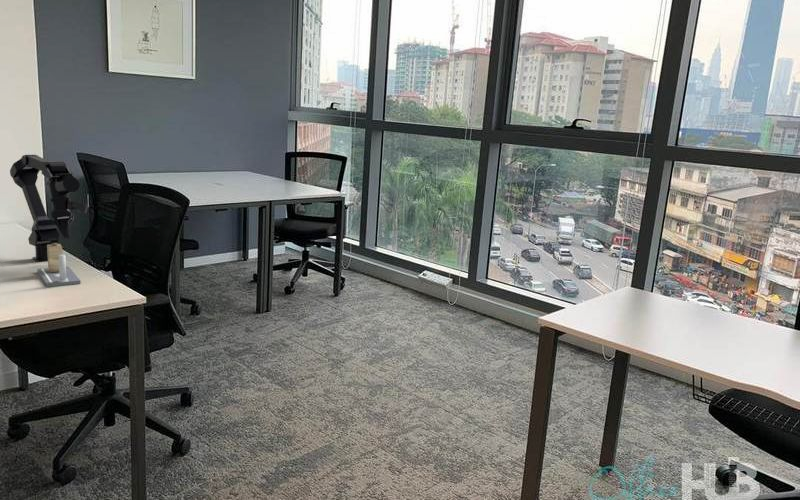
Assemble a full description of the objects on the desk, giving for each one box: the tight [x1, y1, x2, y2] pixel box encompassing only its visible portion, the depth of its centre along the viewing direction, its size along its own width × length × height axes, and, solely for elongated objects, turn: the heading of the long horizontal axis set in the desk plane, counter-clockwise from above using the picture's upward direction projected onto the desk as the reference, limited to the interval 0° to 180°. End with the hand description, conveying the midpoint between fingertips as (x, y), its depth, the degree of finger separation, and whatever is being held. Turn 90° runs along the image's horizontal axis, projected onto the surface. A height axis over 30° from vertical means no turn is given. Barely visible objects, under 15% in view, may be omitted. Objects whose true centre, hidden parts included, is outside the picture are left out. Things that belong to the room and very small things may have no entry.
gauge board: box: [36, 253, 81, 288], centre depth 211 cm, size 20×10×10 cm, turn 38°
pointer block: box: [47, 243, 63, 272], centre depth 215 cm, size 4×4×10 cm
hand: (66, 238), depth 221 cm, fingers open, 9 cm apart
